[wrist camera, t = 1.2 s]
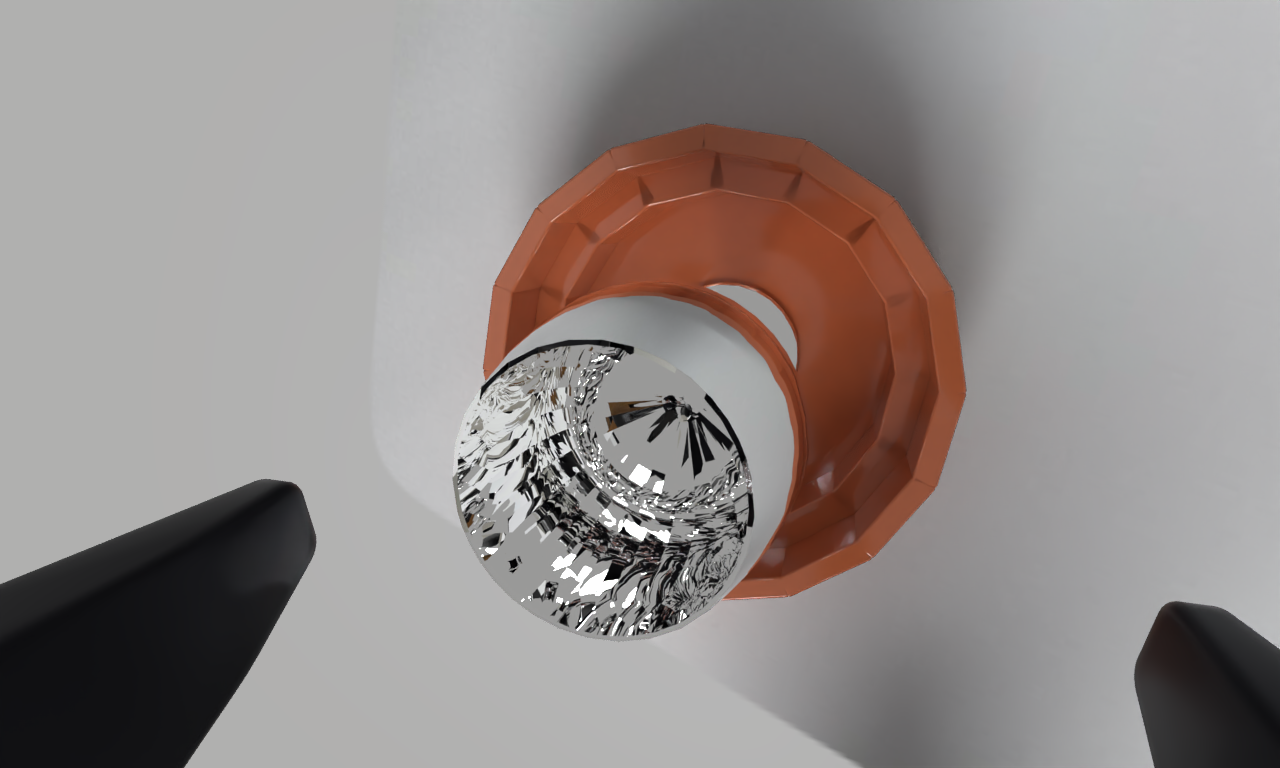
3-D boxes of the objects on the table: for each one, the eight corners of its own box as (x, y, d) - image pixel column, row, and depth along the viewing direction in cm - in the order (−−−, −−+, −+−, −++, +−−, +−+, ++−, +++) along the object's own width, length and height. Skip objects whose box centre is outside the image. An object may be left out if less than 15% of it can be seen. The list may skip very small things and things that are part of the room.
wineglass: (617, 281, 22) (377, 337, 11) (804, 240, 20) (754, 257, 9) (656, 456, 23) (472, 680, 12) (837, 432, 21) (830, 669, 10)
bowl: (875, 586, 22) (882, 660, 18) (520, 481, 25) (462, 526, 21) (997, 186, 19) (1036, 176, 15) (573, 115, 21) (516, 92, 18)
